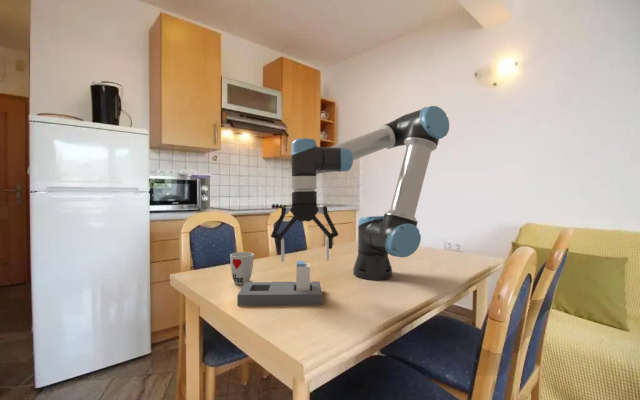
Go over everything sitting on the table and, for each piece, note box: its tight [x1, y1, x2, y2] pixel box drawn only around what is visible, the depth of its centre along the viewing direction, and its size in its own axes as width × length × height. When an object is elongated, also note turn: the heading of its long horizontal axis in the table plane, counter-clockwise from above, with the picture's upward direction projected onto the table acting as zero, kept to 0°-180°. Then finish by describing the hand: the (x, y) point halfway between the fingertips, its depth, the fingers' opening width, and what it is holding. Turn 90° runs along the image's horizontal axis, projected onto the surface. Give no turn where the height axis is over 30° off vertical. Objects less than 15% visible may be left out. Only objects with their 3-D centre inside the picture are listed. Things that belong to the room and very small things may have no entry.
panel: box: [236, 280, 323, 306], centre depth 89 cm, size 24×12×3 cm, turn 93°
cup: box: [229, 251, 255, 286], centre depth 103 cm, size 8×8×10 cm
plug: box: [295, 260, 311, 291], centre depth 90 cm, size 4×4×11 cm
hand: (305, 260), depth 90 cm, fingers open, 13 cm apart
